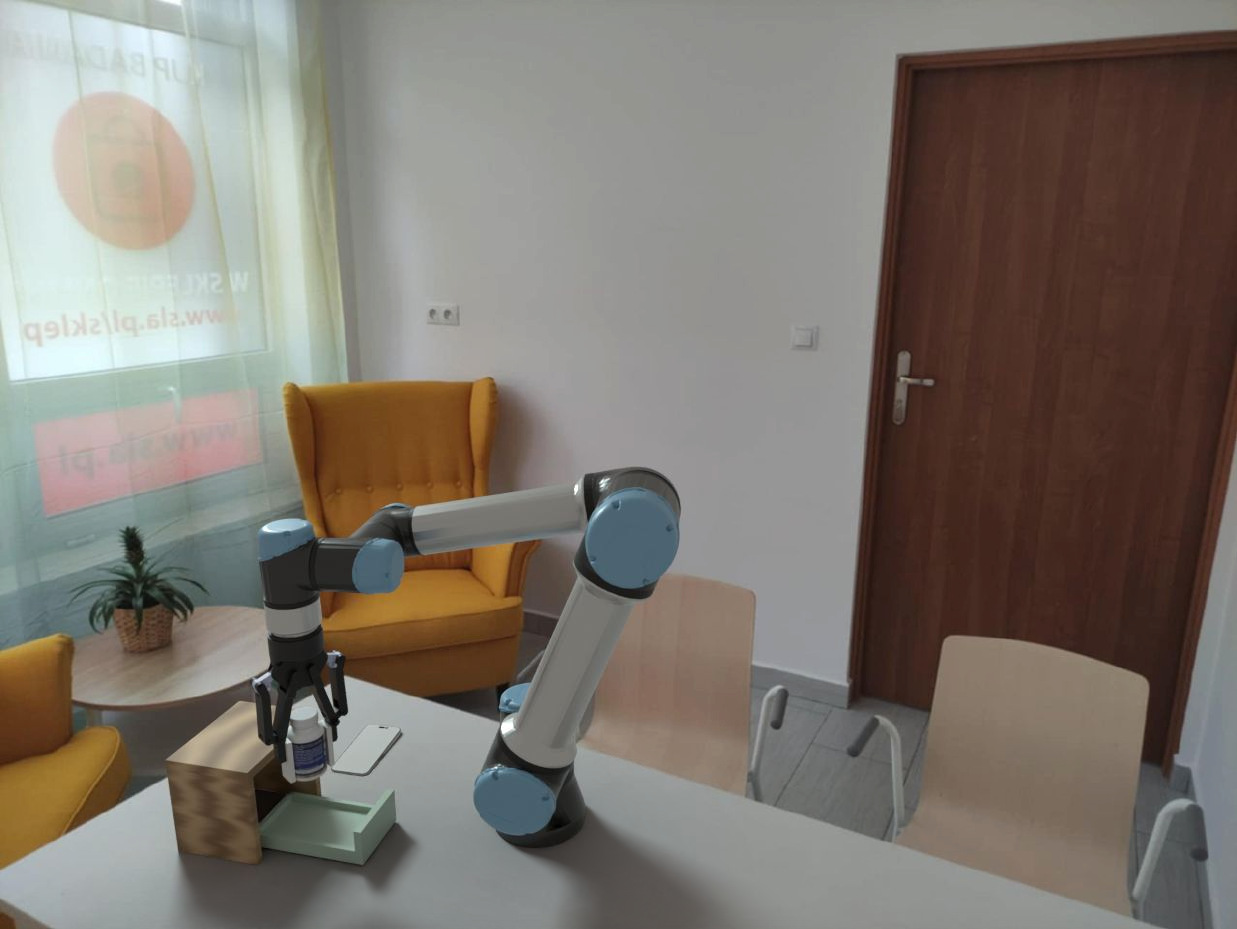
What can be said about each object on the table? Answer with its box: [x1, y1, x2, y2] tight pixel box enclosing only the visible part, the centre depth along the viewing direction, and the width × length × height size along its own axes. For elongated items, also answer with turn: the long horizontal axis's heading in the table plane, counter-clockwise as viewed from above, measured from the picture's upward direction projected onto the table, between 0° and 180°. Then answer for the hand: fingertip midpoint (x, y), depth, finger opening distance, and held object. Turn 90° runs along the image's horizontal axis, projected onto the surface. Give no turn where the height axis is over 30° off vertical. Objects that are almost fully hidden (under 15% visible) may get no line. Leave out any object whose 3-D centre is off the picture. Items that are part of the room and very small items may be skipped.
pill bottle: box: [287, 706, 328, 781], centre depth 133 cm, size 5×5×10 cm
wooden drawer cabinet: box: [164, 700, 322, 866], centre depth 145 cm, size 14×18×16 cm
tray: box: [258, 788, 397, 866], centre depth 144 cm, size 19×11×6 cm, turn 77°
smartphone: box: [330, 723, 402, 777], centre depth 167 cm, size 7×1×15 cm
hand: (309, 770), depth 135 cm, fingers closed on pill bottle, 5 cm apart
